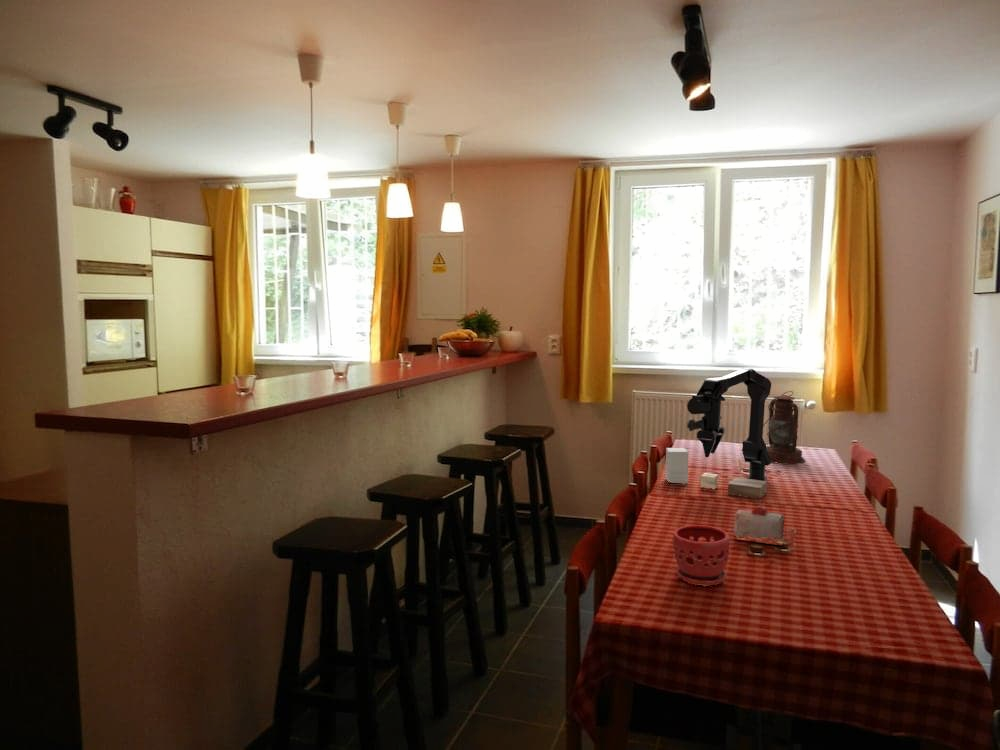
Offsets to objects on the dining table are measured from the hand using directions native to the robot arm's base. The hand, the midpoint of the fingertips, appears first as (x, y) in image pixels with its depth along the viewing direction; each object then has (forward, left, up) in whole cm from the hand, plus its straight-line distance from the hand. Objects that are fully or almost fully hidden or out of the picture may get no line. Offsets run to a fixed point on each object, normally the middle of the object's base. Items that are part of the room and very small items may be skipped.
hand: (709, 455), depth 252 cm
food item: (+50, +27, -13) cm, 58 cm away
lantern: (-66, +14, -13) cm, 69 cm away
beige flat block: (0, +14, -12) cm, 18 cm away
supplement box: (-2, -13, -13) cm, 18 cm away
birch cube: (0, 0, -12) cm, 12 cm away
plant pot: (+88, +21, -13) cm, 91 cm away
